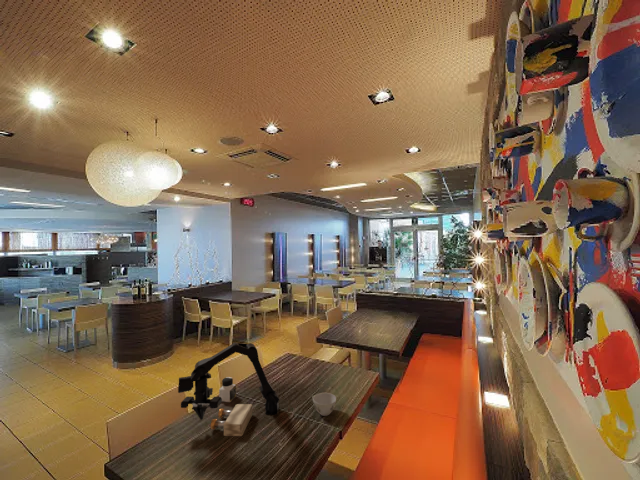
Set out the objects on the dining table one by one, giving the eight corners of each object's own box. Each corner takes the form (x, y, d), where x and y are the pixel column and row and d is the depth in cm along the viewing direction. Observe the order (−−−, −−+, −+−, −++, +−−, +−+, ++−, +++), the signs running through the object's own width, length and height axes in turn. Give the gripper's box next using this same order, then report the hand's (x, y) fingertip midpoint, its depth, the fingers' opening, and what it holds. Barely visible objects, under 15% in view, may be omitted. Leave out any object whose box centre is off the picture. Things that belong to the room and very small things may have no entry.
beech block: (252, 414, 152) (252, 404, 152) (241, 436, 135) (241, 424, 135) (236, 414, 153) (236, 404, 153) (223, 435, 136) (223, 424, 136)
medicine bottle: (230, 402, 164) (229, 381, 165) (219, 401, 166) (218, 380, 166) (236, 396, 171) (235, 376, 172) (225, 395, 173) (225, 375, 173)
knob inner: (239, 415, 151) (239, 406, 151) (236, 420, 146) (236, 411, 146) (221, 414, 151) (221, 406, 151) (218, 420, 147) (218, 411, 147)
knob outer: (233, 426, 142) (233, 417, 142) (230, 431, 137) (230, 422, 137) (214, 425, 142) (214, 416, 142) (210, 431, 138) (210, 422, 138)
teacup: (341, 411, 153) (340, 396, 153) (326, 423, 144) (326, 407, 144) (319, 402, 163) (319, 388, 163) (305, 412, 153) (304, 397, 153)
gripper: (225, 380, 148) (226, 410, 148) (191, 380, 149) (191, 409, 149) (216, 391, 137) (217, 423, 137) (179, 390, 138) (180, 422, 138)
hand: (201, 419), depth 140 cm, fingers closed
